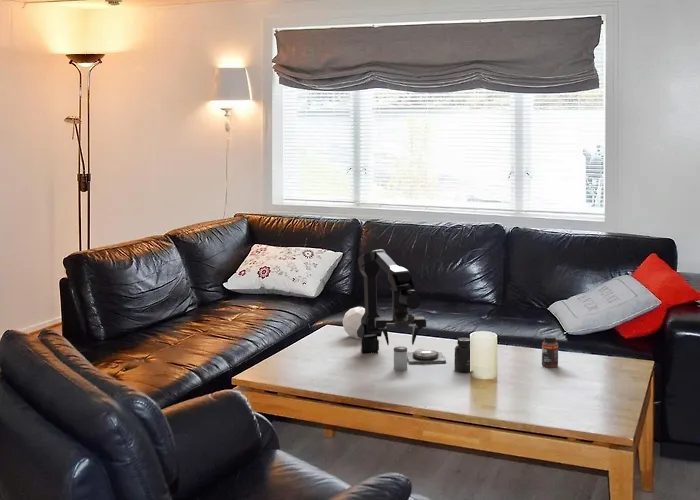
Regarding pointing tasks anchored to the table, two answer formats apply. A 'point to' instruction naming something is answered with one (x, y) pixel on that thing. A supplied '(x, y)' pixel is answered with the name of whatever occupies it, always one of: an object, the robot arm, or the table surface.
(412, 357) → the base
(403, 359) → the knob
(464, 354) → the supplement bottle
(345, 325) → the geodesic sphere
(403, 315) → the robot arm
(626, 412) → the table surface
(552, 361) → the supplement bottle
